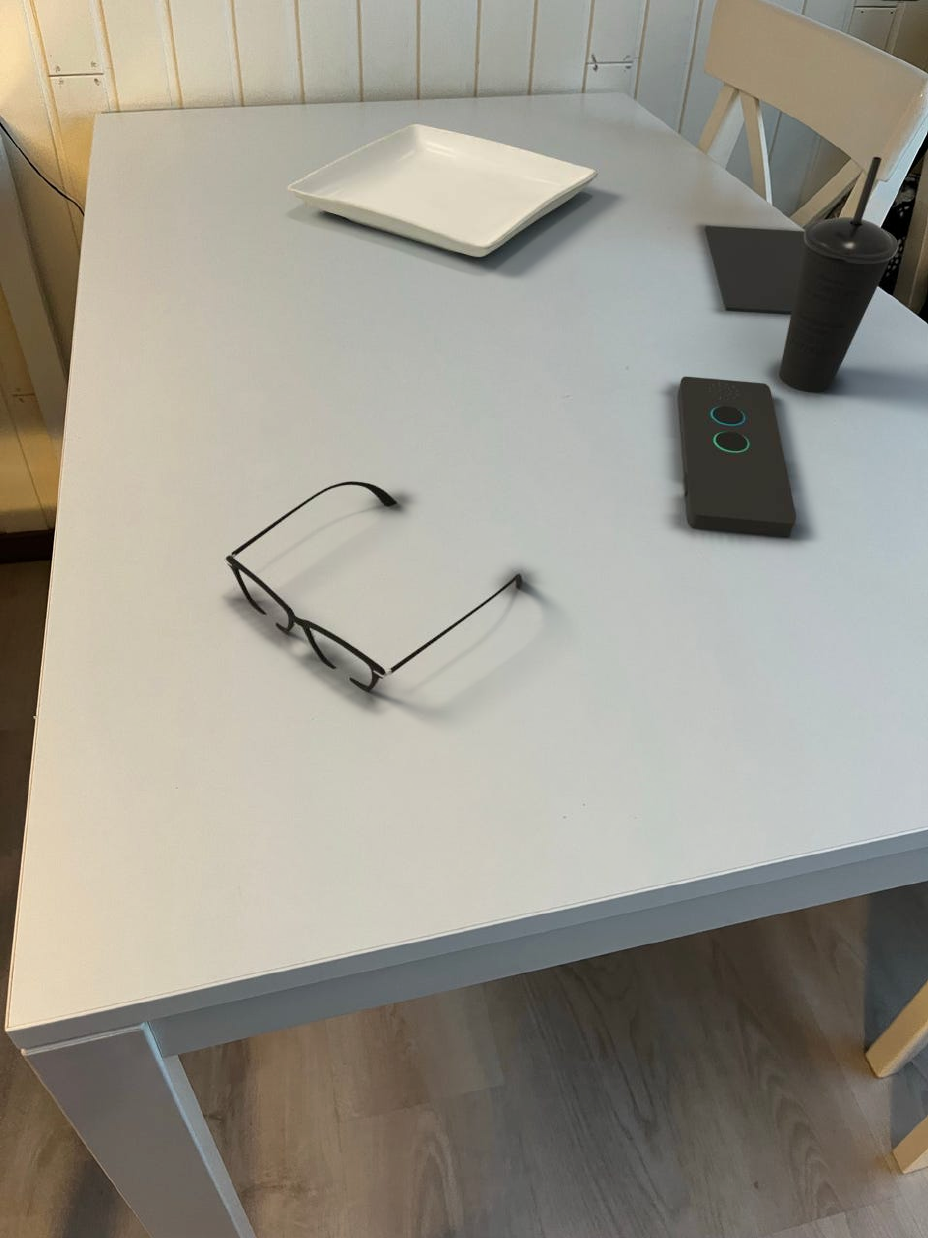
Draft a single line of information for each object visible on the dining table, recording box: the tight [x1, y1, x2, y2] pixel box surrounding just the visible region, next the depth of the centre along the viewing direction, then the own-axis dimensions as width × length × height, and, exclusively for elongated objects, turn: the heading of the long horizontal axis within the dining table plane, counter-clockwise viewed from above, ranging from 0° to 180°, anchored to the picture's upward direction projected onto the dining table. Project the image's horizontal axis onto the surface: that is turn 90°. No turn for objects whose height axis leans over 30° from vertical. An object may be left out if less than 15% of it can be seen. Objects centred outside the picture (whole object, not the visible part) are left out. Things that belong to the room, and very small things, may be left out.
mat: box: [704, 225, 805, 316], centre depth 105 cm, size 20×12×1 cm, turn 176°
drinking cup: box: [778, 156, 899, 393], centre depth 83 cm, size 8×8×20 cm
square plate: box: [286, 123, 599, 258], centre depth 114 cm, size 27×27×4 cm
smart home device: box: [677, 376, 797, 539], centre depth 80 cm, size 8×2×20 cm
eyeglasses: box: [224, 480, 523, 692], centre depth 66 cm, size 16×16×4 cm
